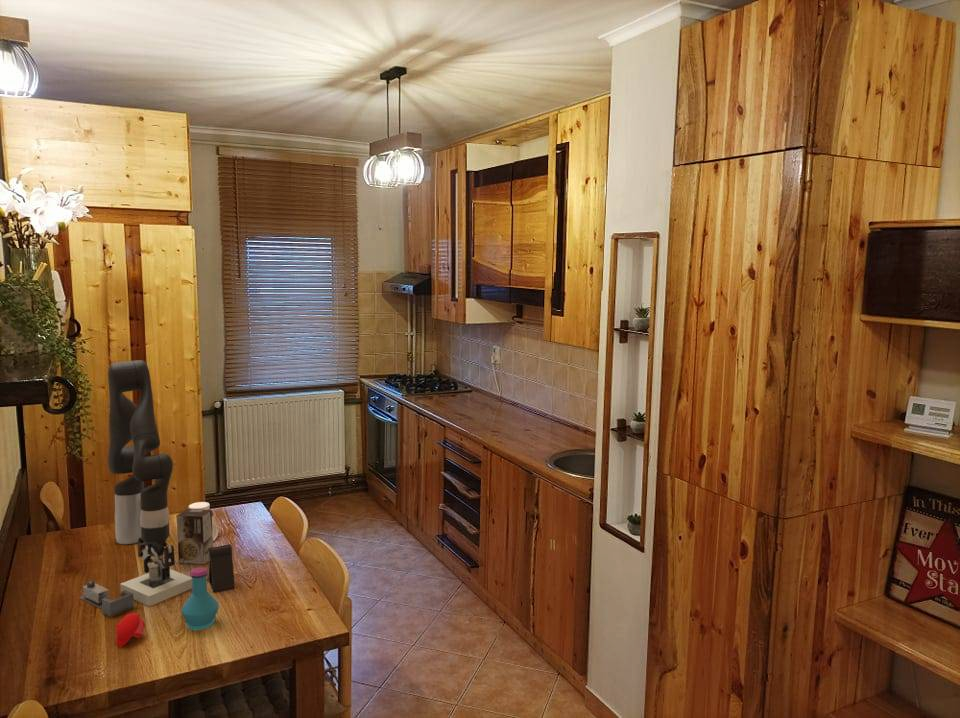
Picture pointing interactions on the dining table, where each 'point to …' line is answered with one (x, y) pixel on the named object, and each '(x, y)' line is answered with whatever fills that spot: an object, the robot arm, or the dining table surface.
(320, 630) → the dining table surface
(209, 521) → the coffee box
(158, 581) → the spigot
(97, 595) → the bolt
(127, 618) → the cap
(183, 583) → the socket
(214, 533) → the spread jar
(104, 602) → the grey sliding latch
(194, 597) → the perfume bottle
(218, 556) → the phone stand
